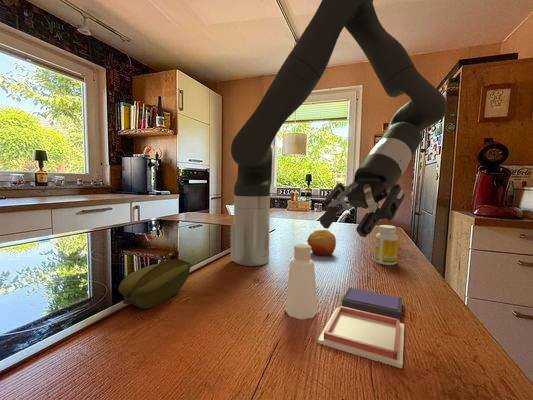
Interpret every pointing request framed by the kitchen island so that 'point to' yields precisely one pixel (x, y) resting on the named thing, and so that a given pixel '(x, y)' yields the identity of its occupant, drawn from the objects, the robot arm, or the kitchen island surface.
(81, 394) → the kitchen island surface
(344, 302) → the ink pad
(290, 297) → the pepper shaker
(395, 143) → the robot arm
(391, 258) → the supplement bottle
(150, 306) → the fruit
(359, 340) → the pink and white tray
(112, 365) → the kitchen island surface
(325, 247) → the fruit
